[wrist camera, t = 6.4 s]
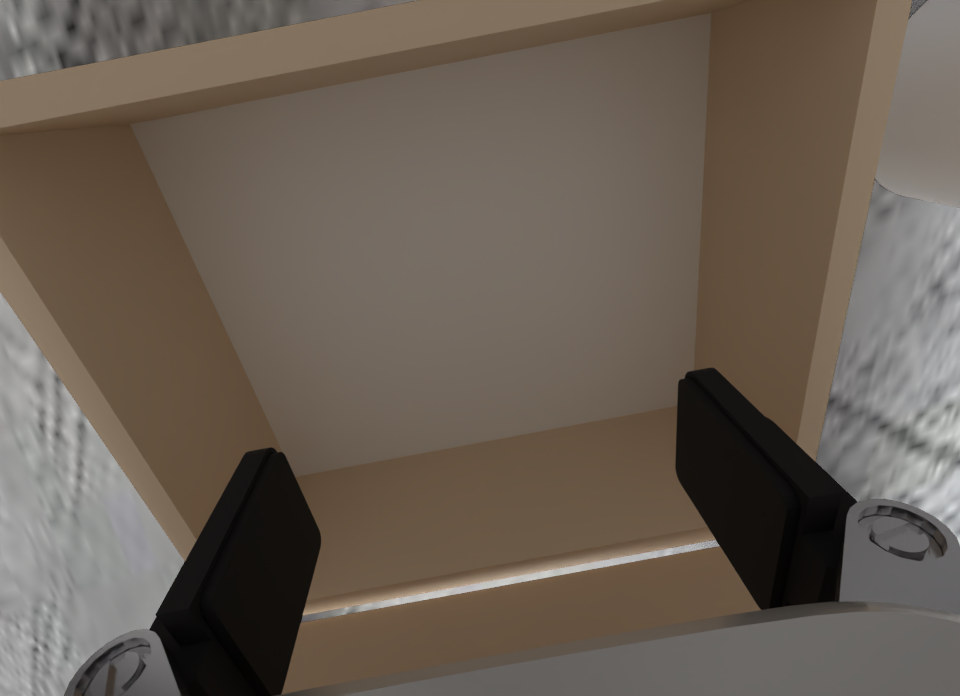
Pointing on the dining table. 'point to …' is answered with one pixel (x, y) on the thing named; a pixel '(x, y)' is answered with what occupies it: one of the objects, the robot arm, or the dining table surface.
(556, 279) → the mailer box
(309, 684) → the lid
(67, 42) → the dining table surface
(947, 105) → the cup
